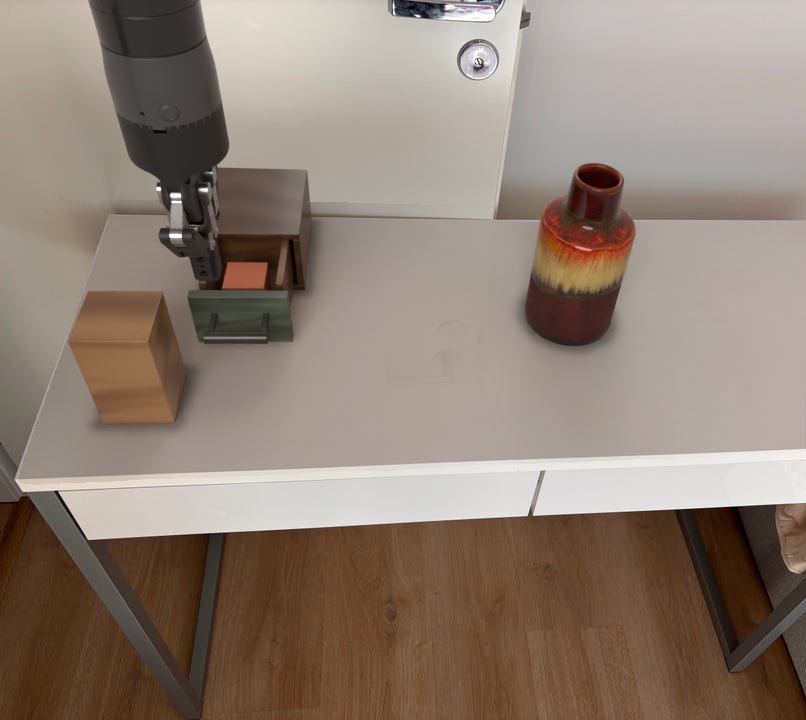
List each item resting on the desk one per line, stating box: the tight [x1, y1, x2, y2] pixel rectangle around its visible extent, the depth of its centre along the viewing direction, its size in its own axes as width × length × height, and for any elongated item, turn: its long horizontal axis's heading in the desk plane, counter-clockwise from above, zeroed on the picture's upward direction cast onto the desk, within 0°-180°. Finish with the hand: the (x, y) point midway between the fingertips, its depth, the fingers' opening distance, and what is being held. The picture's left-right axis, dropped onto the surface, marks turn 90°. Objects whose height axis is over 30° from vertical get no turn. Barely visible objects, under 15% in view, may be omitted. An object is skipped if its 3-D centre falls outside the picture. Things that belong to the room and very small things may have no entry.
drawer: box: [186, 239, 295, 345], centre depth 86 cm, size 17×10×7 cm, turn 5°
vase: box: [524, 162, 637, 347], centre depth 87 cm, size 11×11×20 cm
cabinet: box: [216, 166, 313, 291], centre depth 95 cm, size 14×12×9 cm
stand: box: [67, 290, 187, 425], centre depth 76 cm, size 7×7×12 cm
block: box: [222, 262, 272, 291], centre depth 87 cm, size 4×4×4 cm
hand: (209, 275), depth 68 cm, fingers closed
